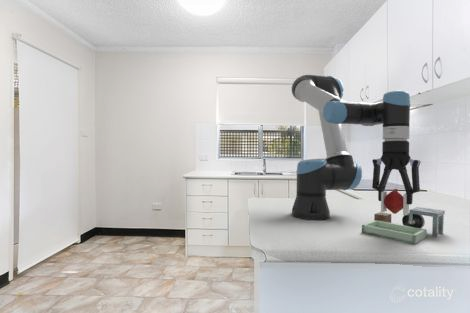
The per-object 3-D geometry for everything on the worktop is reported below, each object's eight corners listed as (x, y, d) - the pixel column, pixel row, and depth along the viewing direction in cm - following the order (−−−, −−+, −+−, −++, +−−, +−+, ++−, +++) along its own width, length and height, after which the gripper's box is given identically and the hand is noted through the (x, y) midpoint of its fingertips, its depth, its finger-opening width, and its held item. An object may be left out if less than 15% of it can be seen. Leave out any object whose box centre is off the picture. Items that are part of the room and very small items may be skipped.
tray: (361, 232, 97) (361, 224, 97) (375, 227, 104) (375, 220, 104) (414, 244, 85) (415, 235, 85) (426, 237, 92) (426, 229, 92)
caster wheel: (399, 230, 100) (399, 208, 100) (407, 226, 106) (408, 205, 106) (437, 237, 92) (437, 213, 92) (444, 233, 98) (444, 210, 97)
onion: (387, 214, 92) (387, 189, 92) (381, 211, 97) (382, 187, 97) (407, 216, 90) (408, 190, 90) (401, 212, 96) (401, 188, 96)
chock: (374, 224, 108) (374, 213, 108) (380, 222, 111) (380, 212, 111) (385, 226, 105) (385, 215, 105) (391, 224, 108) (391, 213, 108)
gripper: (361, 140, 98) (360, 210, 98) (426, 139, 84) (424, 219, 84) (370, 141, 103) (369, 207, 103) (433, 140, 89) (432, 216, 89)
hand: (394, 212), depth 94 cm, fingers closed on onion, 6 cm apart
